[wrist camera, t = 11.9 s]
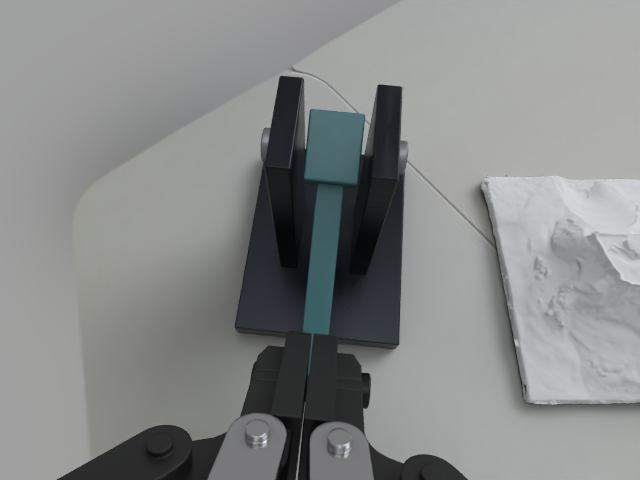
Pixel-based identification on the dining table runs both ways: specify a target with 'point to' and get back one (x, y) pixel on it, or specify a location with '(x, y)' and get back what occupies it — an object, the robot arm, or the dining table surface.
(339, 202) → the switch lever
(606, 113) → the dining table surface
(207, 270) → the dining table surface
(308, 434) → the robot arm
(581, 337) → the terrain model
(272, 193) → the switch bracket
